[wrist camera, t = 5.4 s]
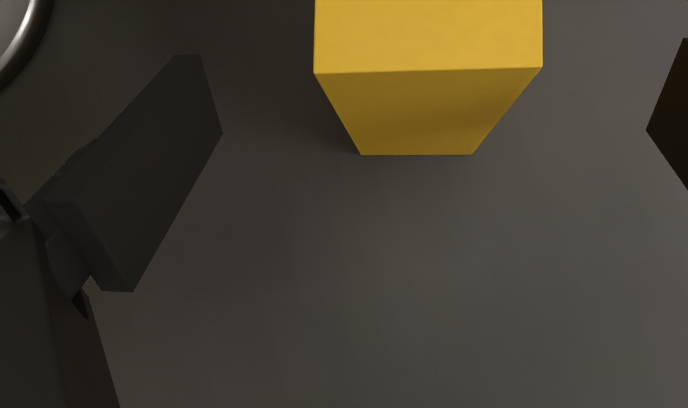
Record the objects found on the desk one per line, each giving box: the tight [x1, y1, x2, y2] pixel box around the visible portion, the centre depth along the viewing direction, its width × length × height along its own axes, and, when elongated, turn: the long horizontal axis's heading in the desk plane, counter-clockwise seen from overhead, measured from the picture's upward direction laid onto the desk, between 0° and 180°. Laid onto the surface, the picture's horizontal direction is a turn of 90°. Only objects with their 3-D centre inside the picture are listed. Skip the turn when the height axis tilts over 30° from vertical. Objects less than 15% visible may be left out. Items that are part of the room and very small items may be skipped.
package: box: [313, 0, 543, 155], centre depth 17 cm, size 6×8×12 cm
